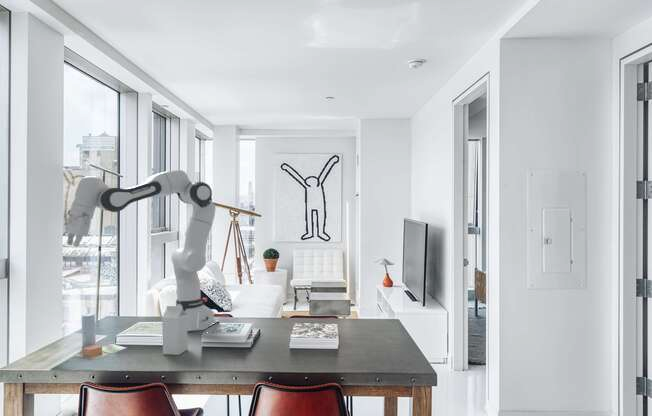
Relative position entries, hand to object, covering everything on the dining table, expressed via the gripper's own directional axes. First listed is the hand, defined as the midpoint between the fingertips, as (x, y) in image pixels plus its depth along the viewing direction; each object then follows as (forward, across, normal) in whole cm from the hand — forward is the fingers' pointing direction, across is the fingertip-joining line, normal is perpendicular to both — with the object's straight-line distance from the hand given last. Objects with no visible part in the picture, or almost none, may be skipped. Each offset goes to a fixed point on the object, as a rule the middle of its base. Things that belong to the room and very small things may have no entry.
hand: (72, 245), depth 186 cm
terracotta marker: (+41, -13, -15) cm, 45 cm away
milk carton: (+34, -31, -40) cm, 62 cm away
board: (+41, -12, -19) cm, 46 cm away
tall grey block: (+41, 0, -18) cm, 45 cm away
